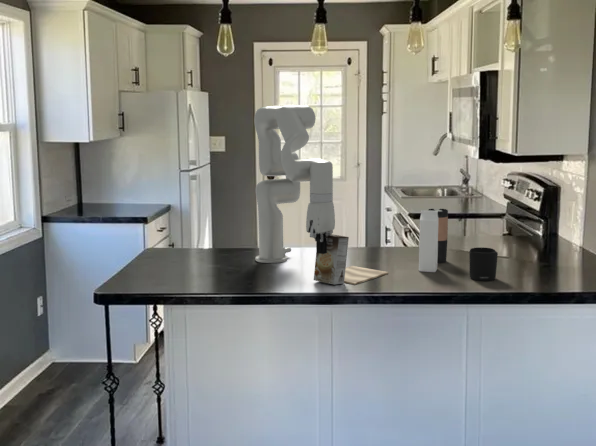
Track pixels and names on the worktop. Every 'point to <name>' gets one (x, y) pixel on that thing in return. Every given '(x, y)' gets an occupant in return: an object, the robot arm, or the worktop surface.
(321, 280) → the coffee box
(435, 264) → the milk
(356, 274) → the tan wooden board
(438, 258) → the travel mug
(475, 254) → the pen holder
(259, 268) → the worktop surface
